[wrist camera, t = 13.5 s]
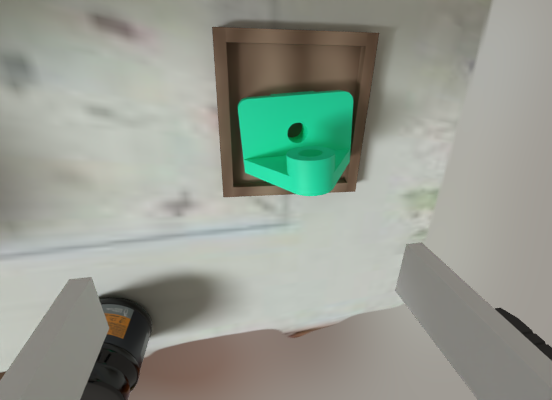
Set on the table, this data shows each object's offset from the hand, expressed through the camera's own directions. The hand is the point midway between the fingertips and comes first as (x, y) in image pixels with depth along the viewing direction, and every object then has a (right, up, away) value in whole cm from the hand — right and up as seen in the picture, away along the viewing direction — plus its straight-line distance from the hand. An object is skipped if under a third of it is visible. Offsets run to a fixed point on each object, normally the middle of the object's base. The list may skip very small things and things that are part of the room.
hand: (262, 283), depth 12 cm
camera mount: (+2, +12, +21) cm, 24 cm away
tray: (+2, +13, +21) cm, 25 cm away
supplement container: (-23, -14, +30) cm, 41 cm away
